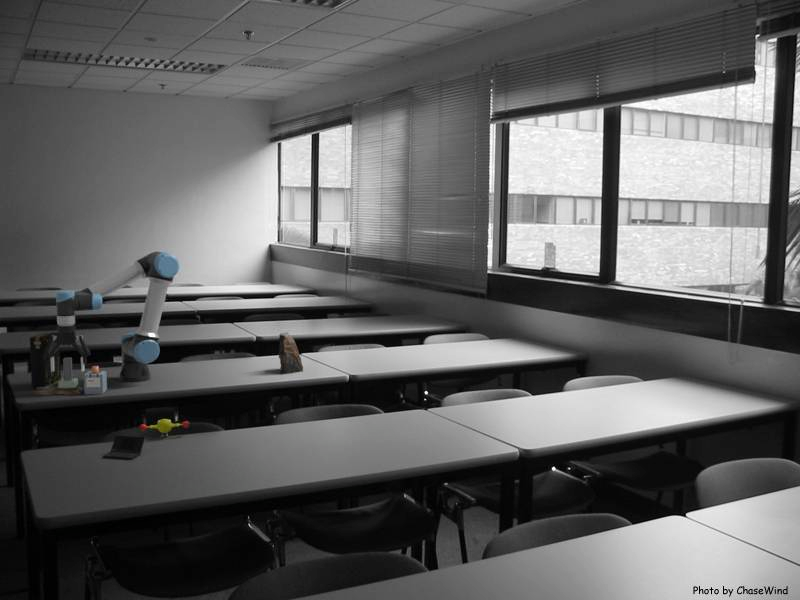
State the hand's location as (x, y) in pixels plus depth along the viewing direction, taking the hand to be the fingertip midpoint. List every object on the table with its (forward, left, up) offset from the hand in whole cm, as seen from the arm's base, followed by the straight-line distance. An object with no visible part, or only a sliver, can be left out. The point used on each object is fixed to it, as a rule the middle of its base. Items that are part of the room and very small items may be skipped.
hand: (67, 371), depth 357 cm
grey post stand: (0, 0, -7) cm, 7 cm away
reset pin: (-12, 0, -3) cm, 12 cm away
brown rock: (-101, -40, -10) cm, 109 cm away
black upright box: (+14, -15, -10) cm, 23 cm away
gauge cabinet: (-12, 0, -10) cm, 16 cm away
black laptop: (-44, +98, -11) cm, 107 cm away
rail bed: (+4, 0, -10) cm, 11 cm away
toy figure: (-54, +76, -10) cm, 94 cm away
